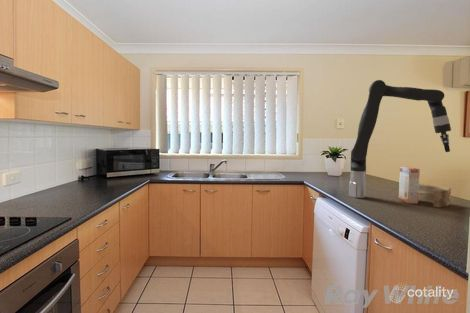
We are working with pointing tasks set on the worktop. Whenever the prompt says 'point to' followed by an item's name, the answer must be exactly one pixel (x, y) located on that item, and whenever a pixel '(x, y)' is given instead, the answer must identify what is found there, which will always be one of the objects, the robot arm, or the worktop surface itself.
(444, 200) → the book rack
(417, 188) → the cracker box
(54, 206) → the worktop surface
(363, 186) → the robot arm
